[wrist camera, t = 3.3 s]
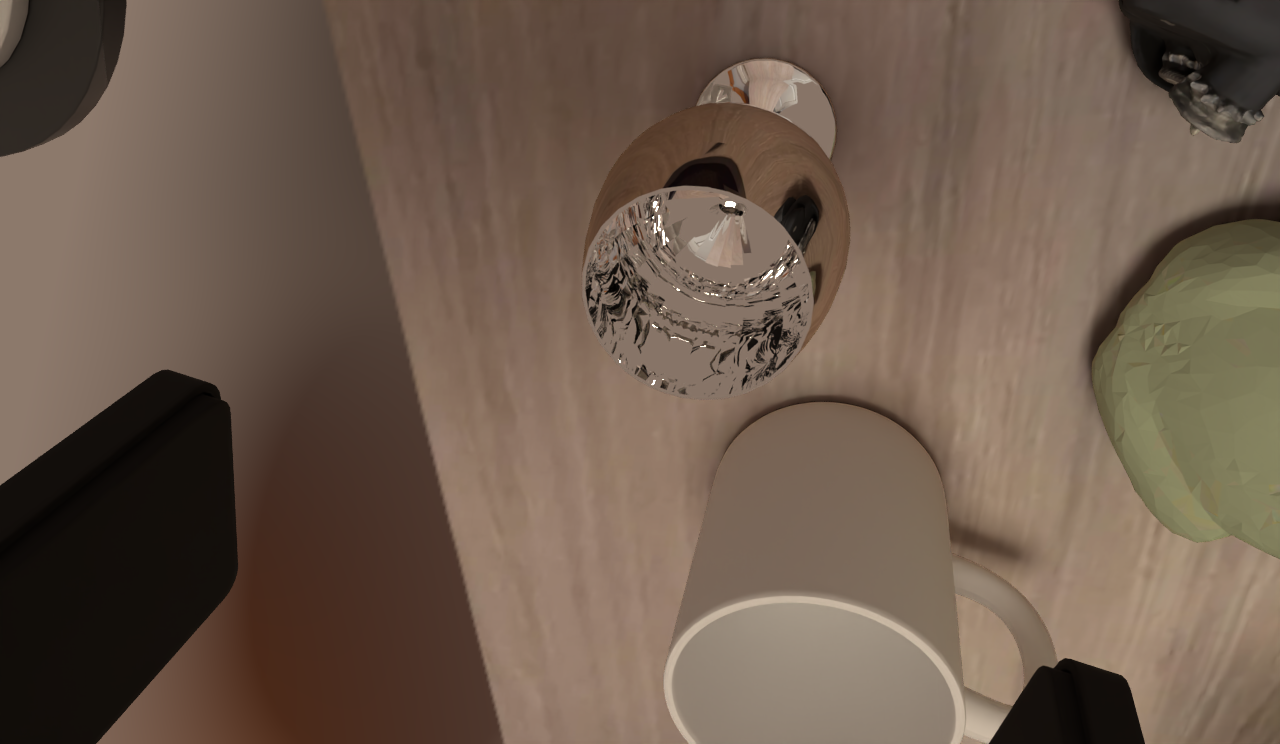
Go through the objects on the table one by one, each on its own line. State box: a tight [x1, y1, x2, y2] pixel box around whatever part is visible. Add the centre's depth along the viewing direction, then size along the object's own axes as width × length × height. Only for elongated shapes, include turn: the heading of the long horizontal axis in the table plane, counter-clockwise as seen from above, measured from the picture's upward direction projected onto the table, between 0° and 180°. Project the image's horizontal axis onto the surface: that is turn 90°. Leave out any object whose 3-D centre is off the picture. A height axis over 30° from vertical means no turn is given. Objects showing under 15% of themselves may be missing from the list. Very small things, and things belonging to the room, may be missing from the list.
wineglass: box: [582, 58, 850, 400], centre depth 23 cm, size 6×6×12 cm
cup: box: [663, 402, 1058, 744], centre depth 30 cm, size 8×12×10 cm
